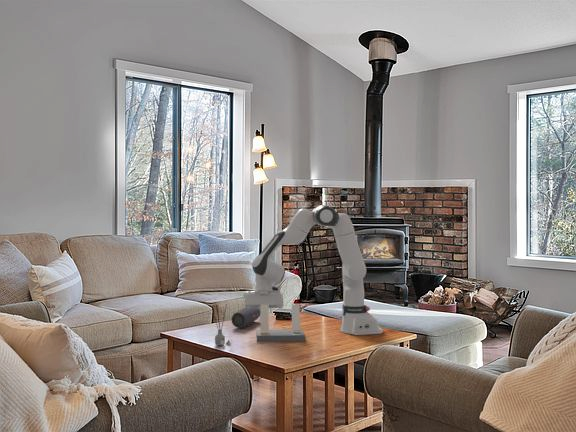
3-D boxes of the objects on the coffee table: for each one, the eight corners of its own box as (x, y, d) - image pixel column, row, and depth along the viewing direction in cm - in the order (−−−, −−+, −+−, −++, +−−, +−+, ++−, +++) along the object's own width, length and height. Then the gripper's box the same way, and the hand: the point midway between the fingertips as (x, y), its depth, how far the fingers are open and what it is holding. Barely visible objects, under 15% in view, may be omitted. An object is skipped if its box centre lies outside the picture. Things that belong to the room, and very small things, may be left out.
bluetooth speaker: (246, 330, 325) (246, 312, 324) (230, 329, 328) (230, 311, 327) (261, 322, 346) (261, 304, 346) (246, 320, 349) (246, 303, 349)
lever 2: (299, 331, 309) (299, 304, 313) (300, 330, 307) (299, 303, 312) (292, 331, 309) (291, 304, 313) (292, 330, 307) (291, 303, 311)
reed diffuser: (214, 348, 288) (214, 306, 287) (207, 345, 294) (207, 304, 293) (232, 344, 294) (232, 303, 294) (225, 342, 300) (225, 301, 299)
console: (302, 335, 314) (302, 329, 314) (305, 341, 302) (305, 335, 302) (256, 336, 312) (256, 330, 312) (257, 341, 300) (257, 335, 300)
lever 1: (268, 331, 308) (268, 303, 310) (268, 331, 306) (268, 303, 308) (260, 331, 307) (260, 303, 310) (260, 331, 306) (260, 303, 308)
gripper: (243, 288, 316) (243, 310, 307) (283, 288, 317) (283, 310, 308) (243, 295, 320) (243, 317, 311) (282, 295, 322) (283, 317, 312)
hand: (263, 314), depth 310 cm, fingers closed, pressing on lever 1
